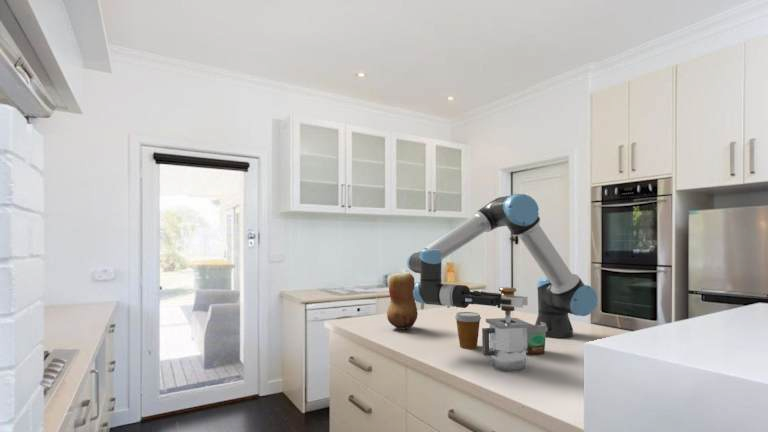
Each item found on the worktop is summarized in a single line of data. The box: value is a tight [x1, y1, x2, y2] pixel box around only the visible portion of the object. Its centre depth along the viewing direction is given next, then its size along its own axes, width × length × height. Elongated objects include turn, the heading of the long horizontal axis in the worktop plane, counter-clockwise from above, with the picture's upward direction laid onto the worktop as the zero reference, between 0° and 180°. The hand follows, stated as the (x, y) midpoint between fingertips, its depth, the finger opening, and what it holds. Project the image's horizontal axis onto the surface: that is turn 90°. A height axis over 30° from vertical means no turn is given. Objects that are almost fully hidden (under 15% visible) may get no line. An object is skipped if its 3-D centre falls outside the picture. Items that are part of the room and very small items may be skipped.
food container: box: [526, 322, 548, 357], centre depth 145 cm, size 12×6×10 cm, turn 117°
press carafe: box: [481, 317, 533, 373], centre depth 131 cm, size 13×10×14 cm
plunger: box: [498, 286, 517, 323], centre depth 132 cm, size 8×8×18 cm
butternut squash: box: [386, 271, 418, 330], centre depth 185 cm, size 14×13×25 cm
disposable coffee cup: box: [454, 311, 482, 350], centre depth 155 cm, size 10×10×12 cm
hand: (524, 301), depth 129 cm, fingers closed on plunger, 4 cm apart
